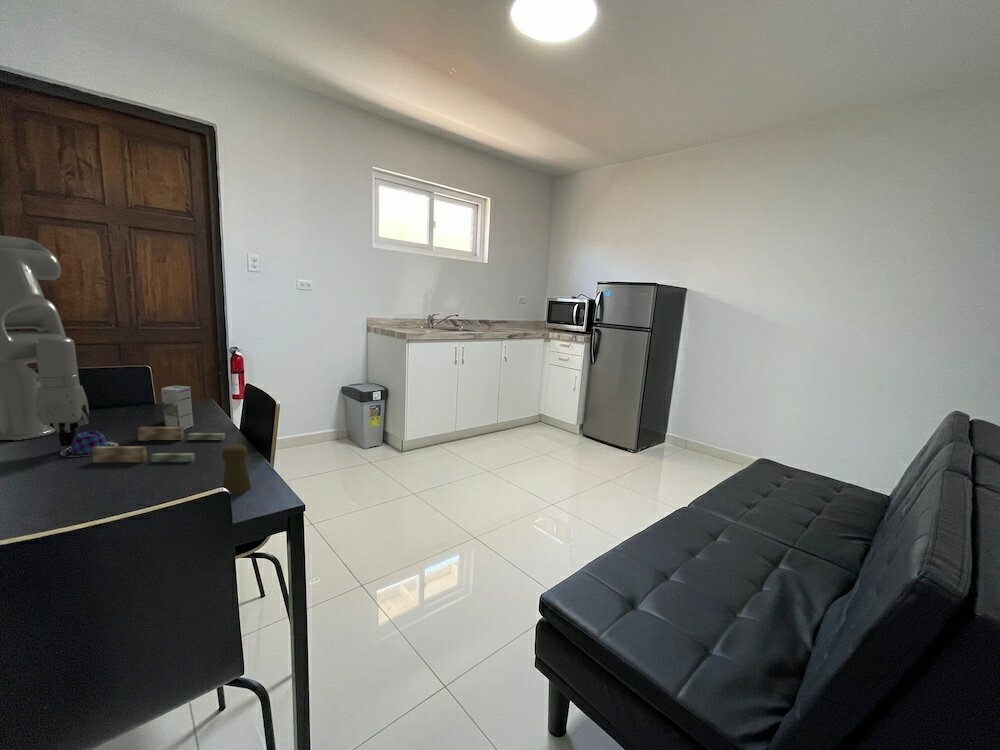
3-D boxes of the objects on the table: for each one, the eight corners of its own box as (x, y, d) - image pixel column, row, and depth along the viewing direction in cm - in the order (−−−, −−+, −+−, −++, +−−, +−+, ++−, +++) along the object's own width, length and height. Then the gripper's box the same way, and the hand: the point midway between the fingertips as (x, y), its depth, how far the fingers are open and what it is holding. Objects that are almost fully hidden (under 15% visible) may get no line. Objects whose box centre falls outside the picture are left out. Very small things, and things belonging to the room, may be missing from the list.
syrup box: (194, 426, 144) (191, 385, 142) (179, 432, 138) (176, 389, 136) (179, 425, 145) (175, 384, 142) (163, 430, 139) (160, 388, 136)
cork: (230, 483, 105) (228, 442, 103) (255, 484, 105) (253, 442, 103) (216, 494, 99) (213, 450, 97) (243, 495, 99) (241, 451, 97)
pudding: (90, 442, 126) (88, 426, 125) (129, 445, 126) (127, 428, 125) (47, 457, 114) (44, 439, 113) (90, 460, 114) (88, 442, 113)
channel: (93, 462, 112) (91, 448, 111) (141, 438, 130) (140, 426, 130) (191, 461, 116) (190, 448, 115) (225, 439, 134) (224, 427, 134)
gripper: (15, 383, 111) (25, 449, 114) (79, 385, 113) (87, 449, 116) (41, 378, 118) (50, 440, 121) (101, 379, 120) (108, 440, 124)
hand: (68, 444), depth 119 cm, fingers closed
